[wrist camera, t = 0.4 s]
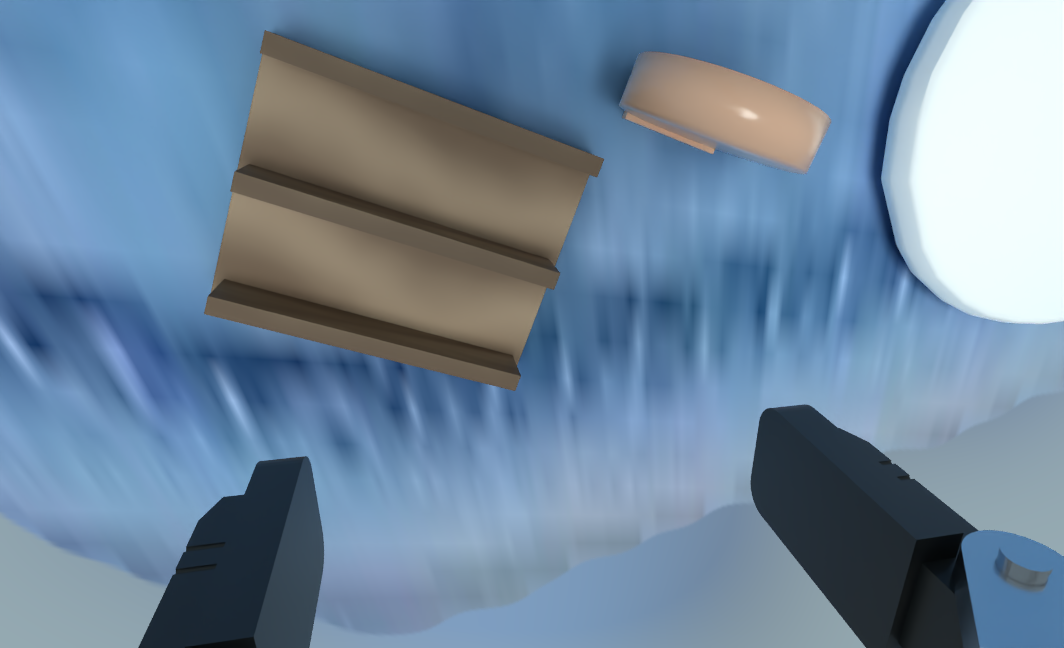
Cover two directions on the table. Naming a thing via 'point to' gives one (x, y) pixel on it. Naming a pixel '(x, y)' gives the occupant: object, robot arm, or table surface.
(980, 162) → the plate
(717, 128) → the saucer
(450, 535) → the table surface
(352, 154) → the dish rack
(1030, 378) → the table surface
